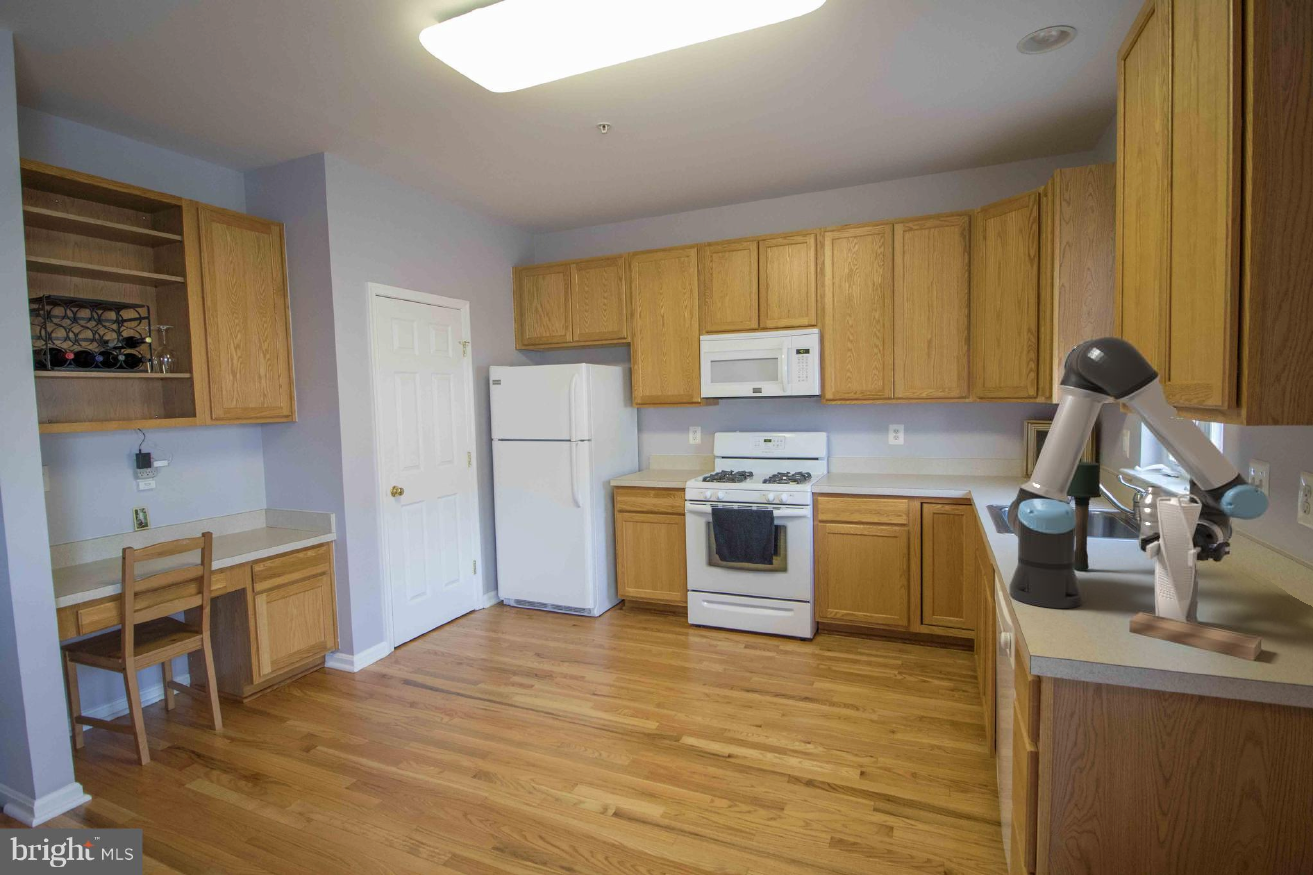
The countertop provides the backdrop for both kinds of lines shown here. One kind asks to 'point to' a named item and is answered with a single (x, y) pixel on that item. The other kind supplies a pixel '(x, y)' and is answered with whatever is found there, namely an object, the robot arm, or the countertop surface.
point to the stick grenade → (1083, 506)
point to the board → (1197, 635)
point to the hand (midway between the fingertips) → (1168, 555)
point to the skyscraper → (1176, 559)
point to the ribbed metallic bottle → (1149, 512)
